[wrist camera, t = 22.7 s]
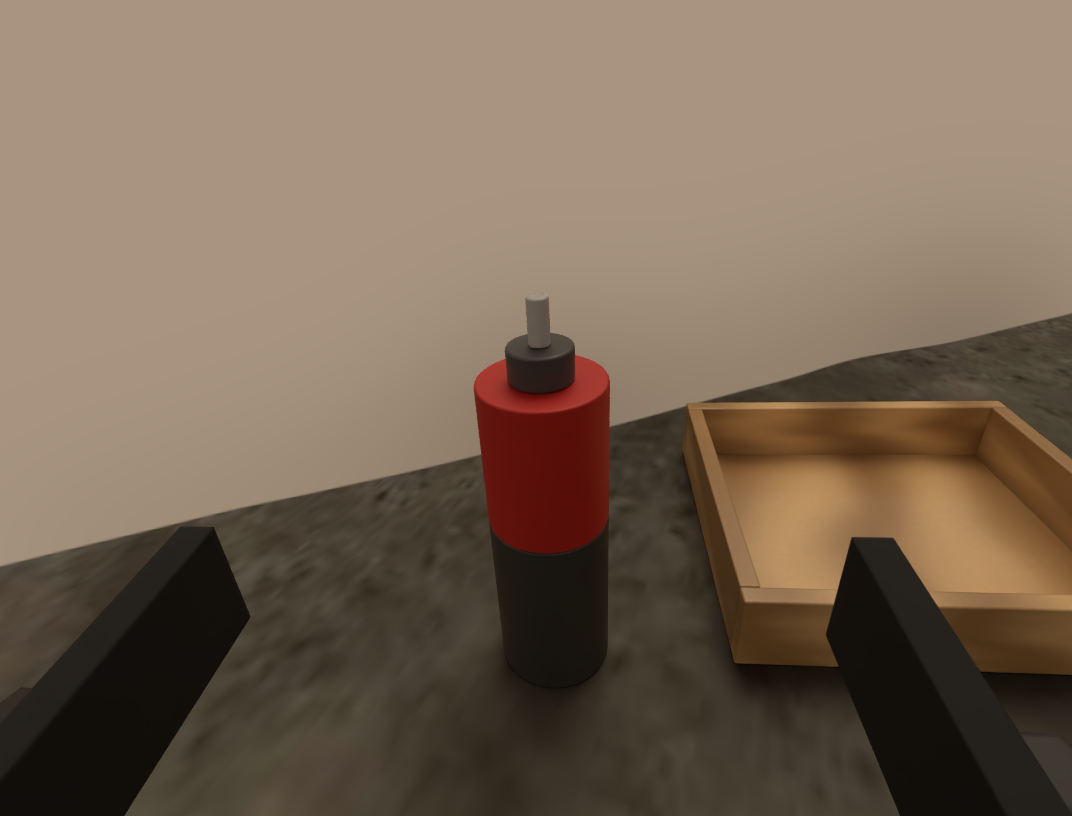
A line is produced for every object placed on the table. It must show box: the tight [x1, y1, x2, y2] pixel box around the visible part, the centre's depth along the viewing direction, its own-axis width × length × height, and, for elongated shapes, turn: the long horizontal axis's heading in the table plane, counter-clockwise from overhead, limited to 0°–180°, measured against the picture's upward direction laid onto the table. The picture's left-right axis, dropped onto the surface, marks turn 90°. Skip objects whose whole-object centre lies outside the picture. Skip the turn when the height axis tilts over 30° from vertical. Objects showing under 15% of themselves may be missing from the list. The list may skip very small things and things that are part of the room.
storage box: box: [683, 401, 1072, 675], centre depth 29 cm, size 18×16×4 cm
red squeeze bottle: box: [474, 293, 610, 688], centre depth 22 cm, size 4×4×15 cm
